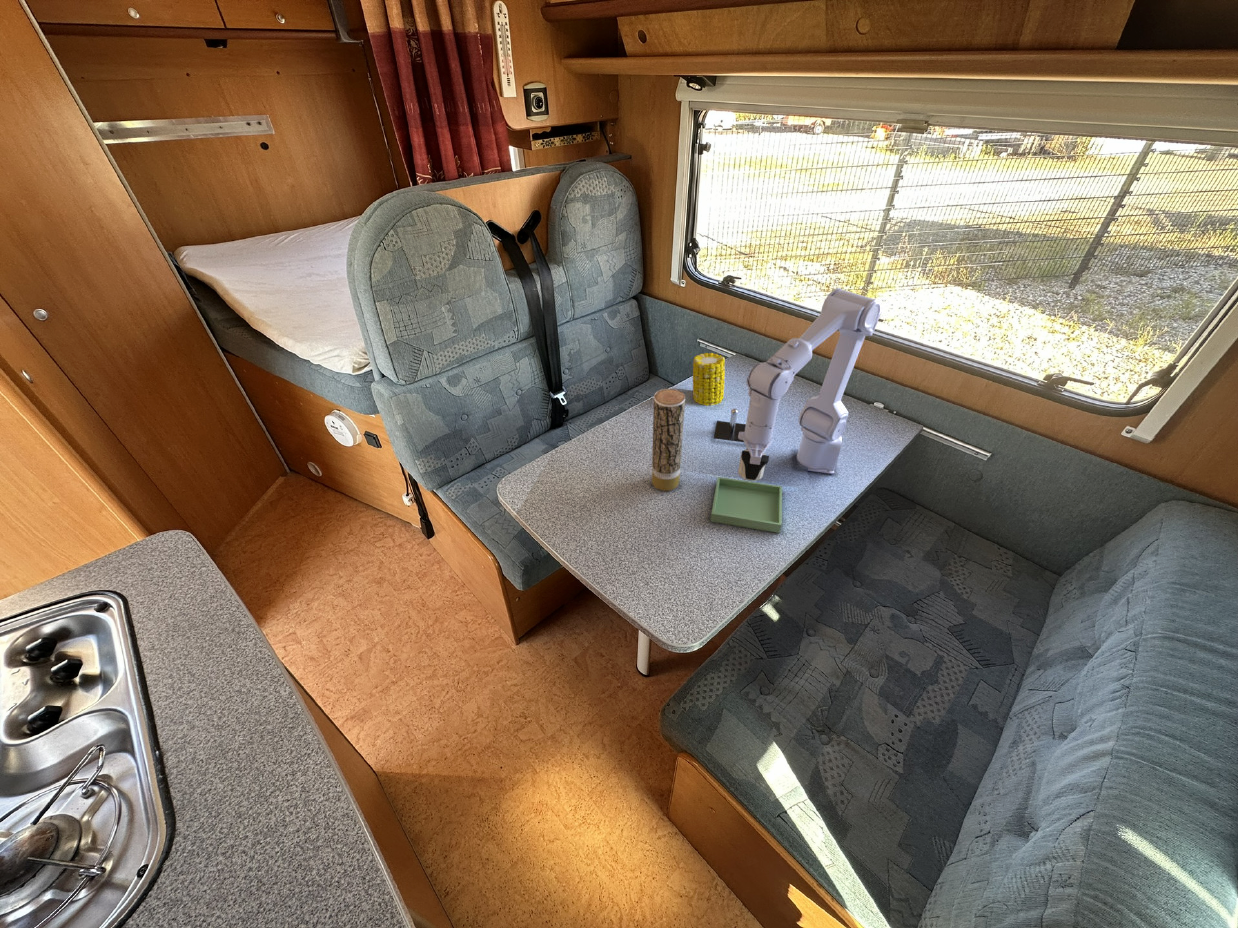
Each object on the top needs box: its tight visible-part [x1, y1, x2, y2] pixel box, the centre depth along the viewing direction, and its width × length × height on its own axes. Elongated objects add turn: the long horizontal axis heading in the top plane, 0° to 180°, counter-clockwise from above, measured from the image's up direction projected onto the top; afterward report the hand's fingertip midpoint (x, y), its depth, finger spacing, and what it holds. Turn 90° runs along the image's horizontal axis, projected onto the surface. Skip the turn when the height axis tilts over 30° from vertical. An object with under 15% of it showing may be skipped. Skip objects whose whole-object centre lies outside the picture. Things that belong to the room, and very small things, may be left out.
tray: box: [710, 476, 783, 534], centre depth 114 cm, size 15×13×2 cm
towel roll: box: [737, 448, 767, 482], centre depth 109 cm, size 5×5×5 cm
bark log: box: [651, 388, 686, 492], centre depth 115 cm, size 7×7×25 cm
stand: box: [713, 408, 746, 443], centre depth 136 cm, size 9×9×8 cm
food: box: [692, 352, 726, 407], centre depth 148 cm, size 15×12×10 cm
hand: (751, 469), depth 110 cm, fingers closed on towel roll, 5 cm apart
